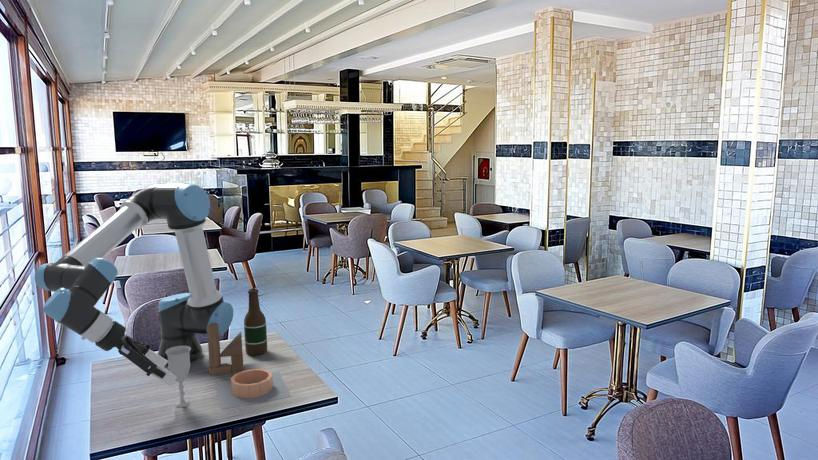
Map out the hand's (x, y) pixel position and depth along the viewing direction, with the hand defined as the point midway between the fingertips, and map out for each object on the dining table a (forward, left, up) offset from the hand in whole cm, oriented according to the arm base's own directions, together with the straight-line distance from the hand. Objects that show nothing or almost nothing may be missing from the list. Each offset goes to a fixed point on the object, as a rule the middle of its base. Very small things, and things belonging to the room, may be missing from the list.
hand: (169, 372), depth 158 cm
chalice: (-1, +3, -12) cm, 13 cm away
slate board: (-3, +23, -12) cm, 26 cm away
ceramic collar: (-3, +23, -11) cm, 25 cm away
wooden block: (-21, +17, -12) cm, 30 cm away
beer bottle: (-38, +29, -12) cm, 49 cm away
